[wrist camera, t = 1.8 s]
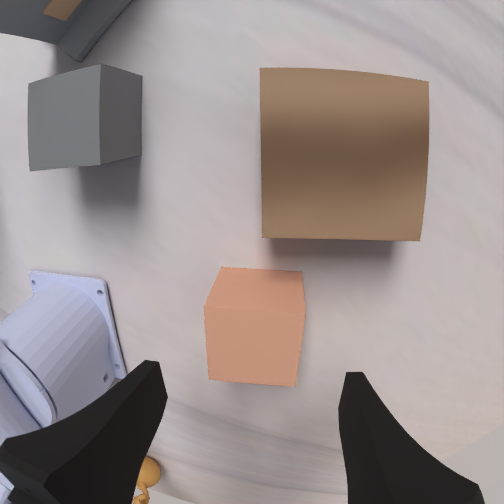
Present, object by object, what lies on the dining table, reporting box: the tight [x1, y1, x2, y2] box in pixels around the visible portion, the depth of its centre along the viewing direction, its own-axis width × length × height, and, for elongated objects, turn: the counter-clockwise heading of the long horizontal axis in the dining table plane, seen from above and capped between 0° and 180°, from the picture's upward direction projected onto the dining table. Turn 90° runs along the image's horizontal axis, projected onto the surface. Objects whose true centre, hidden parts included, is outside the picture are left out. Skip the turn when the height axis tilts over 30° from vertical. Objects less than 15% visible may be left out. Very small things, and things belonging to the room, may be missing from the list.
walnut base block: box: [260, 68, 429, 241], centre depth 16 cm, size 8×8×4 cm
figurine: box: [132, 457, 161, 504], centre depth 25 cm, size 8×6×12 cm
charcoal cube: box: [28, 64, 142, 171], centre depth 15 cm, size 5×5×5 cm
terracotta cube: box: [204, 267, 306, 386], centre depth 19 cm, size 5×5×5 cm
